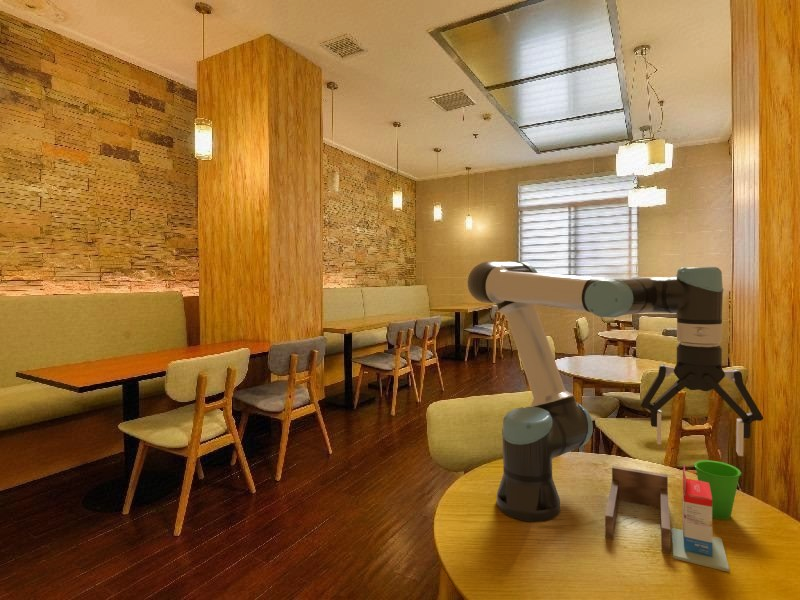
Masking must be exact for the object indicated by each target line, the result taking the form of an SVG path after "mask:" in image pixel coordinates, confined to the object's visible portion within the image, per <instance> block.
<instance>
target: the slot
mask: <svg viewBox="0 0 800 600" xmlns="http://www.w3.org/2000/svg"><path fill="white" fill-rule="evenodd" d="M611 472H612V473H611V484H610V489H609V494H608V499H607V505H606V509H605V514H604V523H605V524H604V525H605V526H604V529H605V530H604V533H605V534H604V538H605V539H610V540H614V535H615V528H616V524H617V523H616V522H617V521H616V520H617V516H618V515H617V514H618V507H619V501H622V502H627V503H632V504H637V505H641V506H642V505H643V506H646V507H651V508H657V509H660V510H659V511H660V512H659V513H660V514H659V515H660V541H661V552H662V553H666V554H671V520H670V507H669V505H670V504H669V492H668V476H669V475H668V474H667V473H661V472H660V473H659V472H653V471H649V470H641V469H634V468H630V467H629V468H628V467H624V466H618V465H612V467H611Z"/></svg>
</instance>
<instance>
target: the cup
mask: <svg viewBox="0 0 800 600" xmlns="http://www.w3.org/2000/svg"><path fill="white" fill-rule="evenodd" d="M693 466H694V468H695V470H696V476H697V480H698V481H703V482H707V483H709V485H710V489H711V494H712V519H713V518H714V519H718V520H729V519H730V518H731V516H732V512H733V507H734V503H735V497H736V493H737V488H738V483H739V478H740V477H741V476H742V472H741V470H740V469H739V468H737V467H736V466H734V465H731V464H729V463H727V462H722V461H717V460H716V461H715V460H708V459H707V460H706V459H704V460H703V459H702V460H697V461H696V462H694V464H693Z"/></svg>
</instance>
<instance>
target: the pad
mask: <svg viewBox="0 0 800 600" xmlns="http://www.w3.org/2000/svg"><path fill="white" fill-rule="evenodd" d="M670 532H671V543H672V558H673V559H675V560H679V561H683V562H687V563H691V564H695V565H700V566H702V567H703V566H704V567H707V568H712V569H715V570H719V571H724V572H727V573H730V566H729V563H728V558H727V555H726V551H725V547H724V543H723V539H722V538H721V537H717V536H712V551H713V556H712V557H711V556H707V555H703V554H699V553H694V552H690V551H686V550H684V538H683V529H678V528H674V527H670Z"/></svg>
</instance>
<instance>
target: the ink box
mask: <svg viewBox="0 0 800 600" xmlns="http://www.w3.org/2000/svg"><path fill="white" fill-rule="evenodd" d="M682 530H683V538H684V550H686V551H690V552H694V553H699V554H703V555H707V556H711V557H712V556H713V551H712V537H713V517H712V494H711V489H710V485H709V483H707V482H703V481H698V479H691V478H687V475H686V466H685V465H683V470H682Z"/></svg>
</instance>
